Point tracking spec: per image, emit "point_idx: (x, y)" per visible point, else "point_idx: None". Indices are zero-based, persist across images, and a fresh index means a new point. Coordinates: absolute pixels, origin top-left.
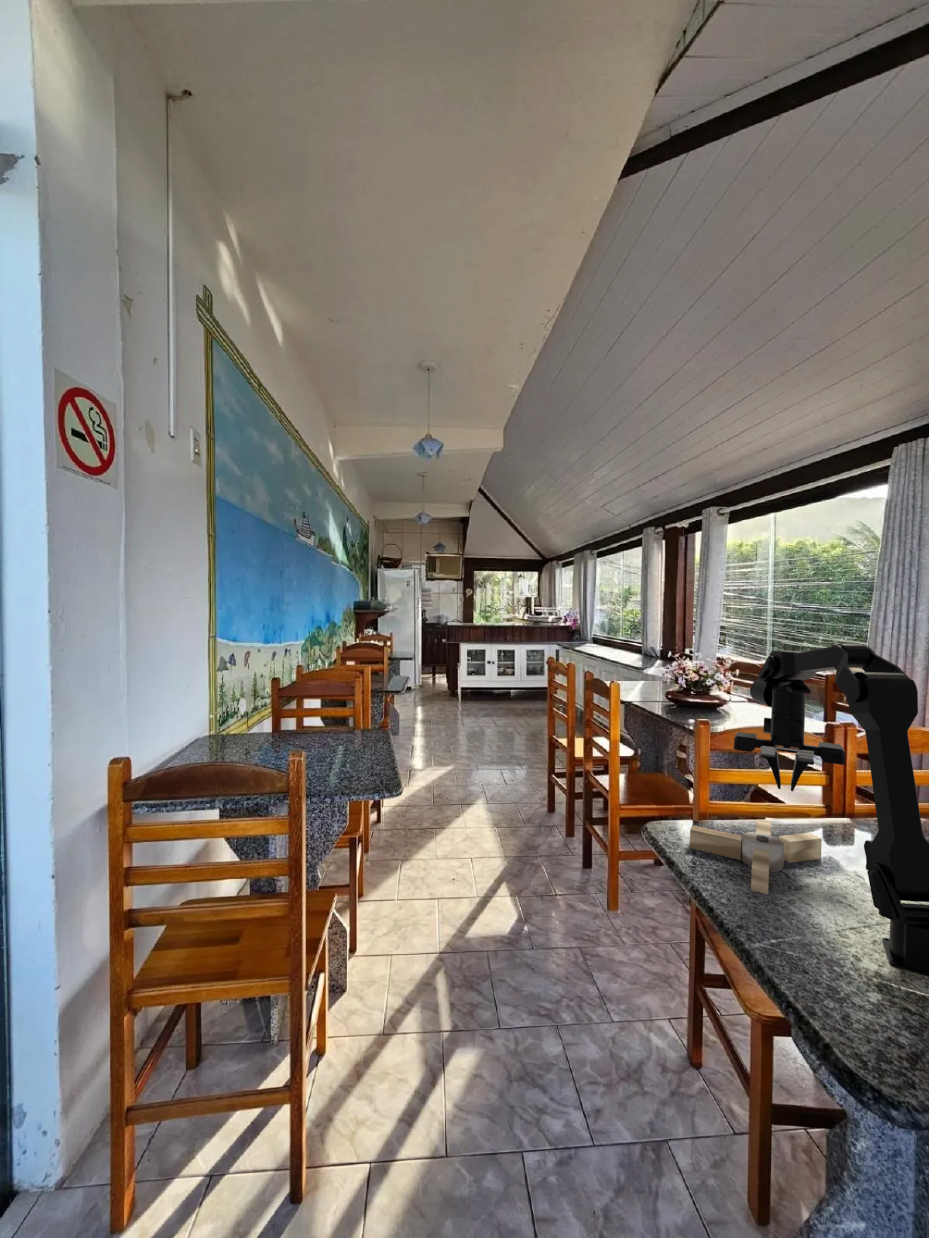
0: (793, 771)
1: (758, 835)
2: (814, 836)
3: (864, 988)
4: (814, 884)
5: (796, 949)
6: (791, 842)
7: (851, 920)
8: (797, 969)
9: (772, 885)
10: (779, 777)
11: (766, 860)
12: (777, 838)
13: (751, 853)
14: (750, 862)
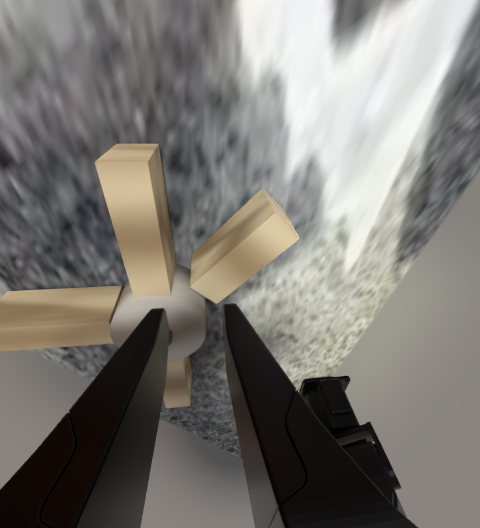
0: (251, 466)
1: None
2: (282, 235)
3: None
4: (253, 310)
5: (224, 418)
6: (220, 299)
7: (283, 363)
8: (224, 431)
9: None
10: (154, 428)
11: (181, 382)
12: (188, 309)
13: None
14: None
